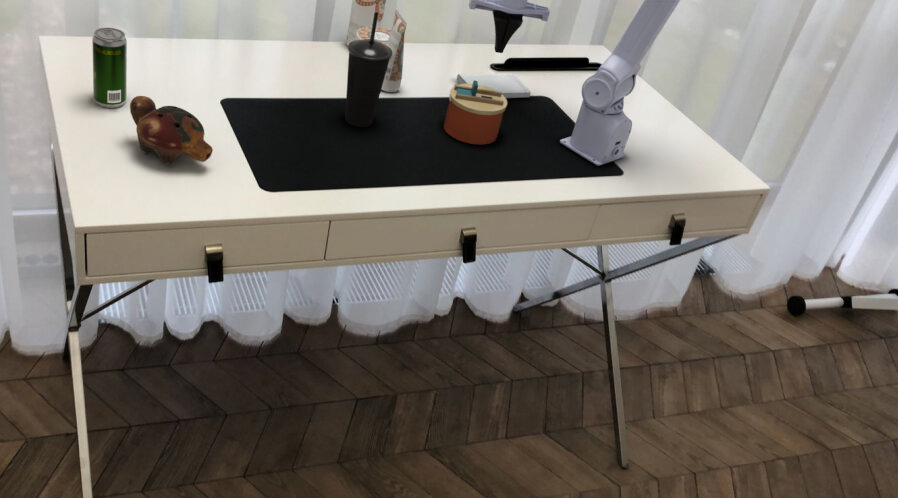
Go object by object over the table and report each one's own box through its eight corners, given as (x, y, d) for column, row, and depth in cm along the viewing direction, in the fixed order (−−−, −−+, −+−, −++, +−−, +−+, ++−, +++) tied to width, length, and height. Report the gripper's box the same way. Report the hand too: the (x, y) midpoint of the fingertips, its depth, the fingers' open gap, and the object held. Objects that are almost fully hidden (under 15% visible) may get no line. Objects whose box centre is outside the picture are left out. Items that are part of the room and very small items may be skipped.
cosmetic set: (416, 97, 185) (435, 1, 173) (369, 96, 182) (386, -2, 170) (378, 40, 203) (394, -50, 191) (336, 38, 200) (349, -53, 188)
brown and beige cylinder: (495, 121, 182) (505, 85, 177) (501, 149, 174) (511, 111, 169) (441, 113, 181) (449, 76, 176) (443, 140, 173) (452, 102, 168)
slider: (474, 92, 174) (477, 80, 173) (475, 98, 172) (478, 86, 171) (456, 90, 174) (459, 77, 172) (457, 95, 172) (460, 83, 170)
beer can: (132, 105, 164) (132, 38, 157) (102, 111, 161) (101, 43, 154) (117, 91, 167) (117, 25, 160) (87, 96, 164) (86, 29, 157)
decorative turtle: (143, 126, 160) (148, 82, 155) (223, 162, 157) (231, 118, 152) (108, 147, 152) (112, 101, 147) (191, 185, 149) (198, 139, 145)
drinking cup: (374, 135, 170) (394, 26, 158) (332, 124, 171) (348, 15, 158) (383, 116, 176) (403, 10, 164) (343, 106, 177) (359, 0, 165)
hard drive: (475, 93, 187) (531, 90, 191) (457, 73, 192) (512, 71, 197) (473, 100, 188) (529, 98, 192) (455, 81, 193) (510, 79, 198)
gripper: (552, -23, 178) (533, 47, 186) (475, -36, 176) (459, 35, 184) (558, -8, 172) (538, 63, 180) (477, -22, 171) (461, 51, 179)
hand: (498, 50), depth 182 cm, fingers closed
